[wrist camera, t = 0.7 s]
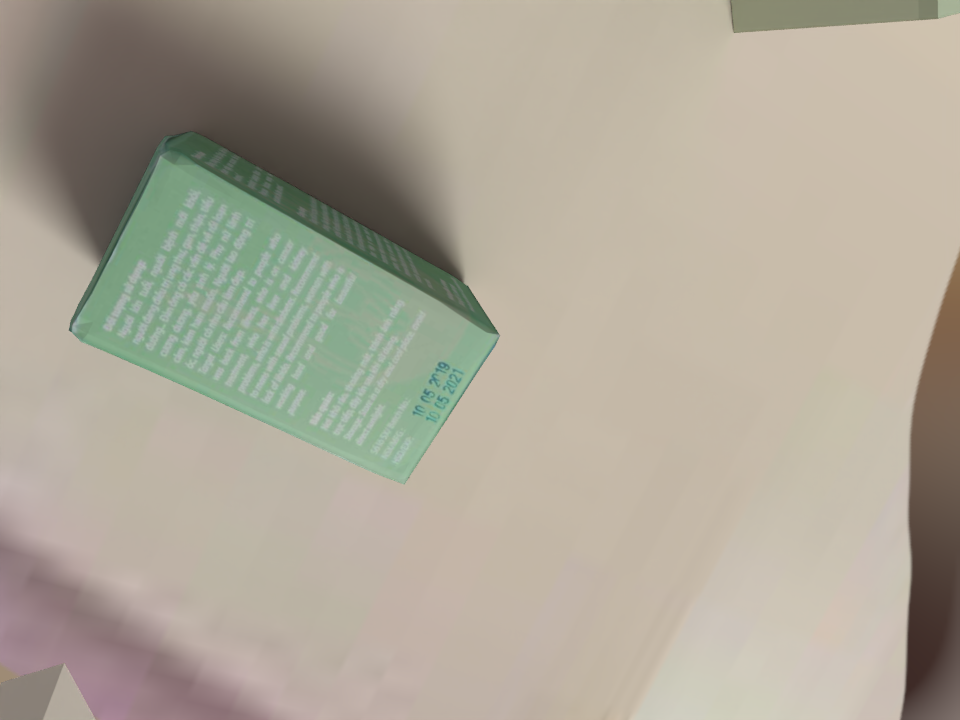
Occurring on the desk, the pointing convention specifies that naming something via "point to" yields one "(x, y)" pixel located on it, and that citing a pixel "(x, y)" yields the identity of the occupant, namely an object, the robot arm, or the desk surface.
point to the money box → (833, 12)
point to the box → (284, 309)
